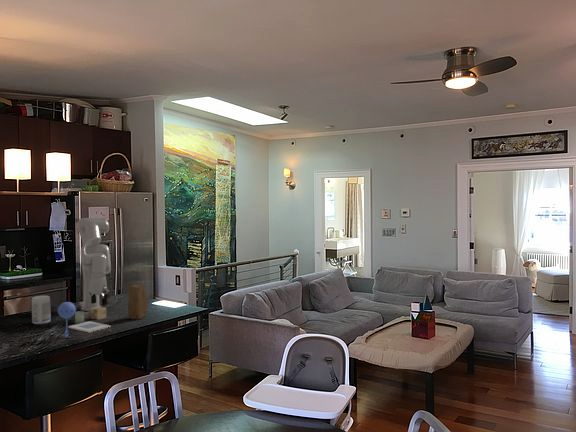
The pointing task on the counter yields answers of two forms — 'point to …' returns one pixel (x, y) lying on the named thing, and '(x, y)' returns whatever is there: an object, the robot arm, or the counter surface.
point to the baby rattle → (66, 312)
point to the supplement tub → (41, 309)
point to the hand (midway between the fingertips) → (99, 303)
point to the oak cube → (98, 313)
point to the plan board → (89, 326)
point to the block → (137, 302)
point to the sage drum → (79, 317)
